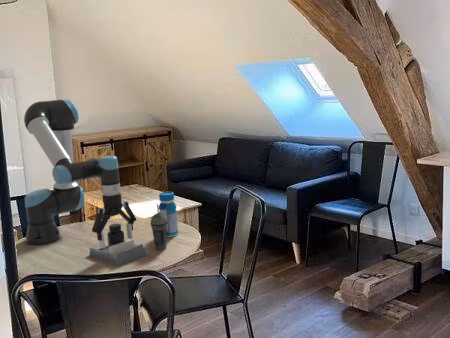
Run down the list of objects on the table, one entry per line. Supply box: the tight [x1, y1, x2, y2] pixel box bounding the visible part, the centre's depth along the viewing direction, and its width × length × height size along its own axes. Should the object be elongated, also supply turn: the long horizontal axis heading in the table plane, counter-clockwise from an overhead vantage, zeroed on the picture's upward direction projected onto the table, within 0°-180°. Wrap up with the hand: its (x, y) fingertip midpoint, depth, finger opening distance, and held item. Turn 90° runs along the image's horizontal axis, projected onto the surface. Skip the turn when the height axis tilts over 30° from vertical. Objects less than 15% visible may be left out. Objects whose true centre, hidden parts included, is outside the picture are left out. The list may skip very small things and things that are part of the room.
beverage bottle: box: [158, 191, 179, 238], centre depth 225 cm, size 8×8×20 cm
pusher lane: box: [89, 243, 147, 267], centre depth 204 cm, size 20×15×5 cm
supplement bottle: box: [106, 223, 126, 248], centre depth 204 cm, size 7×7×12 cm
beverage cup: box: [150, 203, 168, 251], centre depth 208 cm, size 7×7×20 cm
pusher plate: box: [109, 239, 135, 257], centre depth 202 cm, size 1×11×5 cm, turn 136°
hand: (116, 242), depth 204 cm, fingers open, 13 cm apart
